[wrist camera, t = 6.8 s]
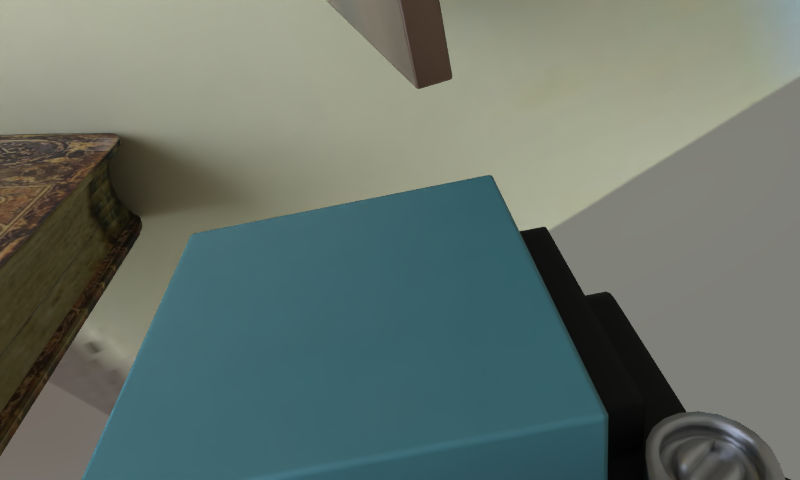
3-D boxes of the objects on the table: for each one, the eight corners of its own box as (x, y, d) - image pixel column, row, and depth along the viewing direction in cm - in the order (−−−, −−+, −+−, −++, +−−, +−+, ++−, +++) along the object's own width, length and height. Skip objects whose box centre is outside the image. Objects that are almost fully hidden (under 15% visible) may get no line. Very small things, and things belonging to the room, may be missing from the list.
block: (189, 232, 9) (60, 516, 5) (492, 172, 9) (612, 416, 5) (278, 433, 12) (240, 730, 8) (515, 389, 12) (607, 668, 8)
